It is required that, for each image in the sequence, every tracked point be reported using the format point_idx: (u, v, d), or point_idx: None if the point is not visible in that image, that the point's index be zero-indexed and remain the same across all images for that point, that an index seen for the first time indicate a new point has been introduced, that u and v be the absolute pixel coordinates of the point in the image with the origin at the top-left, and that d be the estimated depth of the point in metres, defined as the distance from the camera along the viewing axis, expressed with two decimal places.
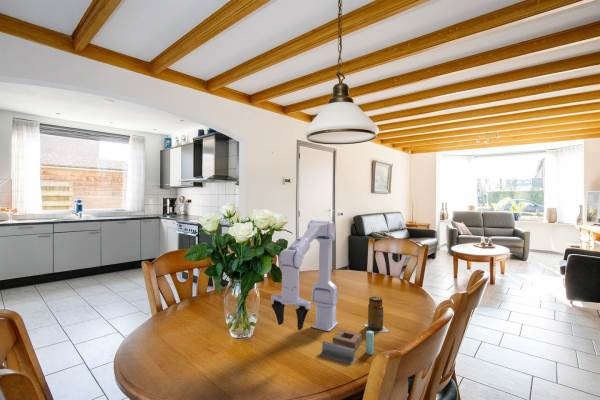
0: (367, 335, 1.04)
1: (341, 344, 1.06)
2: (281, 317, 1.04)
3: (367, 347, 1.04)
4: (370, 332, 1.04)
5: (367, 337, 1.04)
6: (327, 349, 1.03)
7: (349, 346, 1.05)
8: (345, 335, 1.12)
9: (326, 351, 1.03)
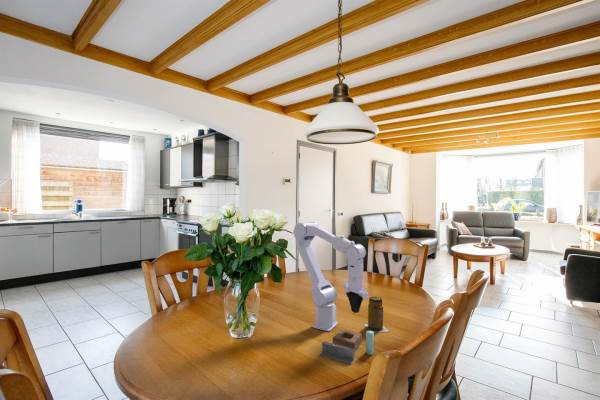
0: (367, 335, 1.04)
1: (341, 344, 1.06)
2: None
3: (367, 347, 1.04)
4: (370, 332, 1.04)
5: (367, 337, 1.04)
6: (327, 349, 1.03)
7: (349, 346, 1.05)
8: (345, 335, 1.12)
9: (326, 351, 1.03)
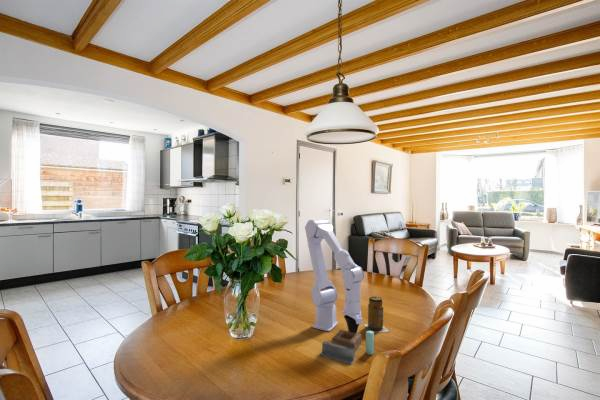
0: (367, 335, 1.04)
1: (341, 344, 1.06)
2: None
3: (367, 347, 1.04)
4: (370, 332, 1.04)
5: (367, 337, 1.04)
6: (327, 349, 1.03)
7: (349, 346, 1.05)
8: (345, 335, 1.12)
9: (326, 351, 1.03)
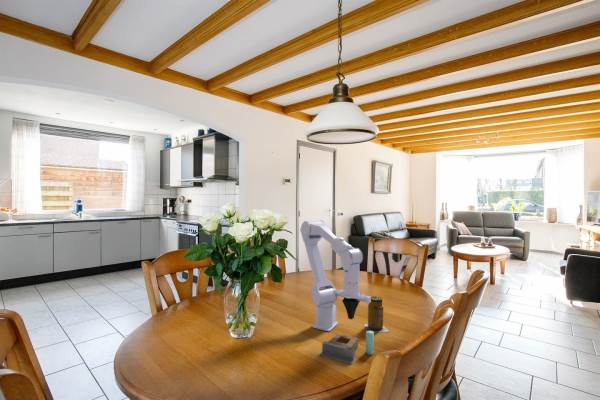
0: (367, 335, 1.04)
1: None
2: None
3: (367, 347, 1.04)
4: (370, 332, 1.04)
5: (367, 337, 1.04)
6: (327, 349, 1.03)
7: None
8: (341, 339, 1.09)
9: (326, 351, 1.03)
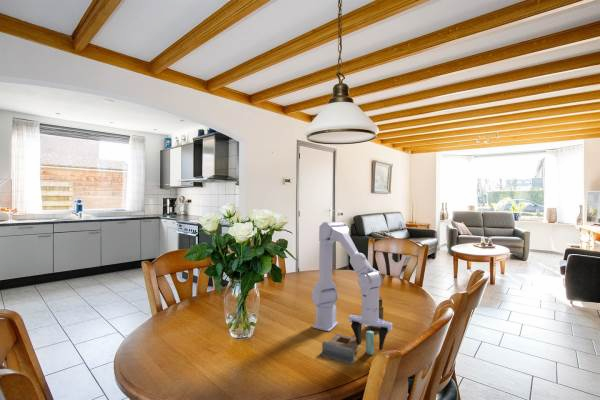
0: (367, 335, 1.04)
1: None
2: (360, 337, 1.06)
3: (367, 347, 1.04)
4: (370, 332, 1.04)
5: (367, 337, 1.04)
6: (327, 349, 1.03)
7: None
8: (341, 339, 1.09)
9: (326, 351, 1.03)
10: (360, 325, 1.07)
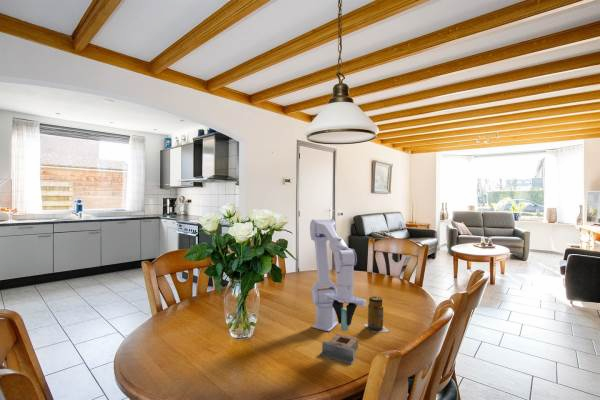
0: (342, 312, 1.05)
1: None
2: None
3: (342, 323, 1.05)
4: (345, 309, 1.06)
5: (342, 314, 1.05)
6: (327, 349, 1.03)
7: None
8: (341, 339, 1.09)
9: (326, 351, 1.03)
10: (341, 304, 1.07)
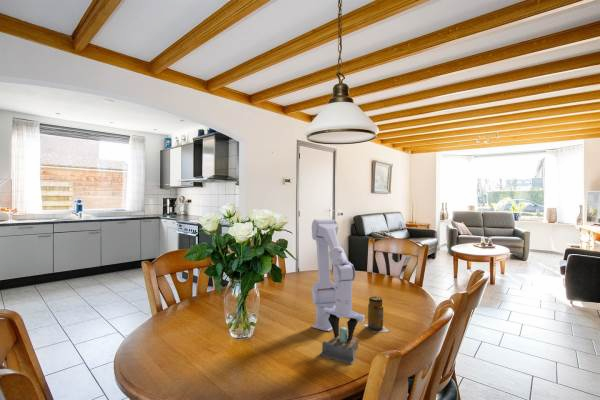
0: (340, 331, 1.05)
1: None
2: (337, 330, 1.07)
3: None
4: (344, 328, 1.06)
5: (340, 333, 1.05)
6: (327, 349, 1.03)
7: None
8: None
9: (326, 351, 1.03)
10: (337, 318, 1.08)
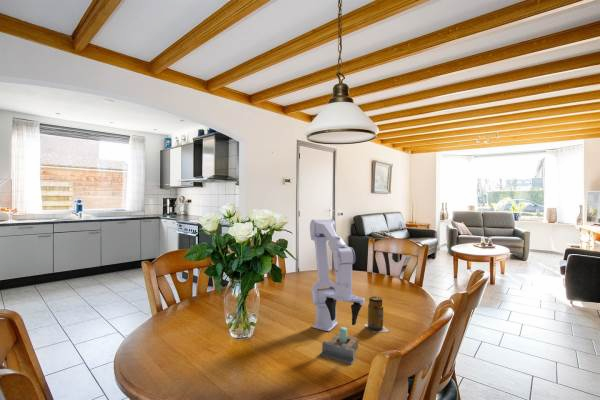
0: (340, 331, 1.05)
1: None
2: (334, 313, 1.08)
3: None
4: (343, 328, 1.06)
5: (340, 333, 1.05)
6: (327, 349, 1.03)
7: None
8: None
9: (326, 351, 1.03)
10: (334, 301, 1.09)
